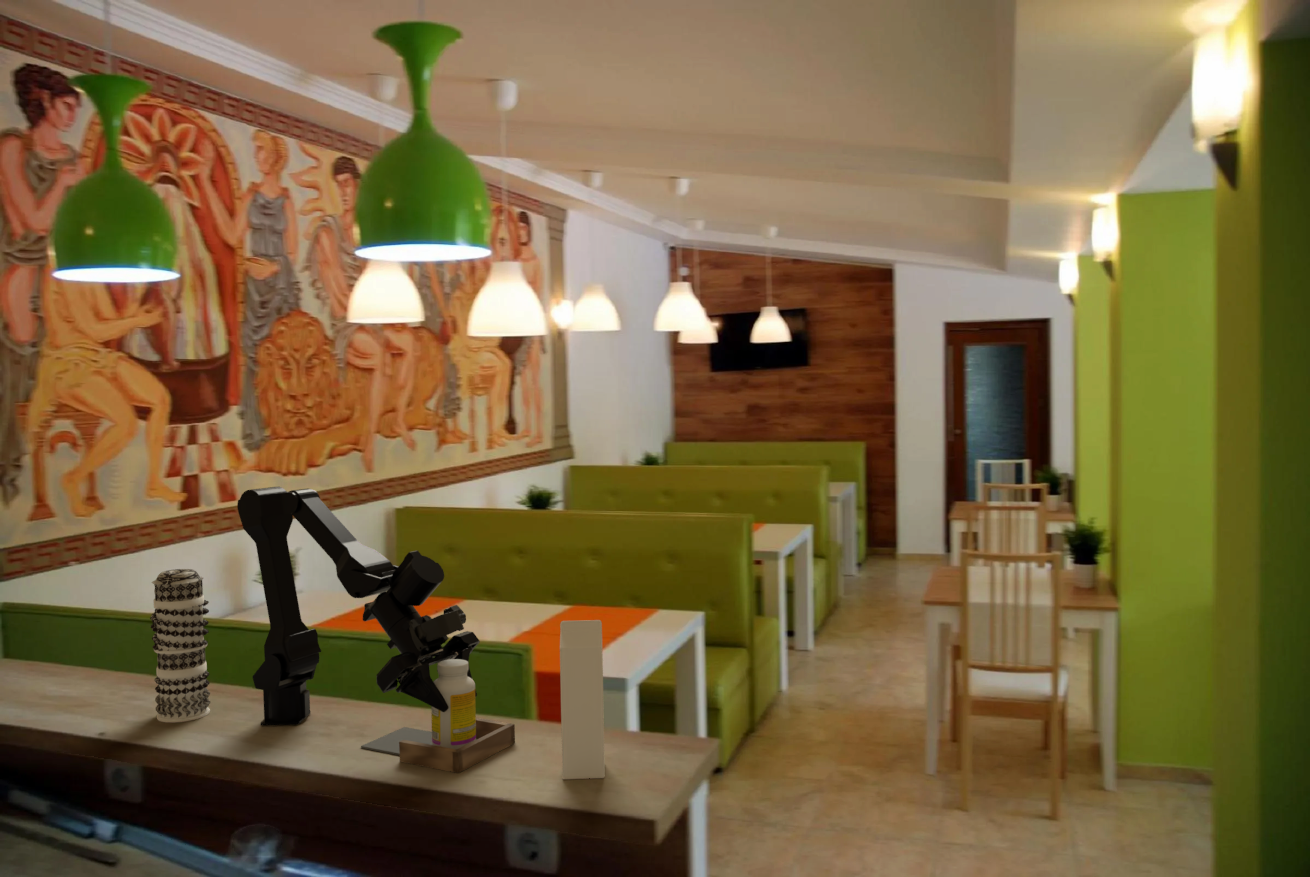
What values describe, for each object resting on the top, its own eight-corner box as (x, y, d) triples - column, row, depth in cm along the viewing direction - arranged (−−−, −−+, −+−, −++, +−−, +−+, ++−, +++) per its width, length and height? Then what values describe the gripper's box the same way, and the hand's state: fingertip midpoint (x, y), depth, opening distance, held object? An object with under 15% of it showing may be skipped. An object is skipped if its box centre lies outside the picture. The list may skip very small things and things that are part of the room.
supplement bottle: (483, 740, 162) (482, 658, 161) (464, 755, 156) (463, 669, 155) (444, 736, 164) (443, 656, 163) (423, 751, 157) (422, 666, 157)
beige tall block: (604, 778, 148) (602, 625, 147) (561, 780, 148) (559, 626, 146) (604, 763, 154) (602, 615, 153) (563, 764, 154) (560, 616, 152)
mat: (360, 748, 162) (360, 746, 162) (404, 728, 171) (404, 726, 171) (410, 757, 157) (410, 755, 157) (453, 737, 166) (452, 735, 166)
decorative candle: (222, 713, 181) (216, 570, 179) (167, 727, 174) (161, 578, 173) (199, 703, 187) (194, 564, 186) (145, 715, 180) (139, 572, 179)
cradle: (399, 761, 156) (399, 741, 156) (458, 733, 168) (458, 714, 168) (458, 773, 151) (458, 752, 151) (515, 743, 163) (514, 724, 163)
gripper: (389, 603, 152) (451, 688, 148) (469, 581, 169) (526, 657, 164) (350, 650, 156) (408, 734, 152) (431, 624, 173) (486, 699, 168)
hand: (460, 703), depth 159 cm, fingers closed on supplement bottle, 6 cm apart
